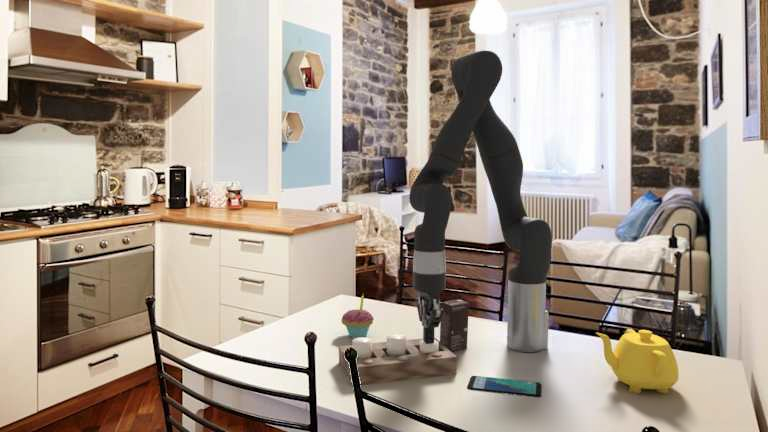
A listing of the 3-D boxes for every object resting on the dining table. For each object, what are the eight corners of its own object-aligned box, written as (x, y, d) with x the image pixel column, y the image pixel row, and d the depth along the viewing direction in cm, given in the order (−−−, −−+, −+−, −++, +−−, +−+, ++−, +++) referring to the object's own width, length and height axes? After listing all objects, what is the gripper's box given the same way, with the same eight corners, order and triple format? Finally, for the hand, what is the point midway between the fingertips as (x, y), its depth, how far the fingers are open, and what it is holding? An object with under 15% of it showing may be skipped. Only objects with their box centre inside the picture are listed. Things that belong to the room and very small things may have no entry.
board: (434, 353, 139) (434, 336, 138) (456, 373, 125) (456, 355, 125) (339, 362, 132) (338, 345, 132) (351, 385, 119) (351, 366, 118)
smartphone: (471, 375, 124) (541, 382, 120) (471, 378, 124) (541, 385, 120) (466, 387, 117) (541, 395, 113) (466, 391, 117) (541, 399, 113)
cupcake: (379, 334, 154) (379, 291, 152) (361, 342, 146) (361, 297, 145) (353, 328, 158) (353, 287, 157) (335, 337, 151) (334, 293, 150)
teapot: (620, 367, 129) (622, 317, 128) (687, 385, 119) (690, 331, 118) (592, 384, 119) (595, 330, 118) (663, 405, 109) (667, 346, 108)
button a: (434, 356, 133) (434, 338, 133) (441, 363, 129) (441, 344, 129) (417, 358, 132) (417, 340, 132) (423, 365, 128) (423, 346, 128)
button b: (402, 351, 131) (402, 333, 131) (408, 358, 127) (408, 339, 126) (384, 353, 130) (384, 335, 130) (389, 360, 126) (389, 341, 125)
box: (450, 353, 139) (451, 305, 137) (439, 347, 142) (439, 301, 141) (469, 348, 142) (469, 302, 141) (457, 343, 146) (457, 298, 144)
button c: (369, 355, 129) (369, 336, 129) (374, 361, 125) (374, 342, 124) (350, 356, 128) (350, 338, 127) (354, 363, 124) (354, 344, 123)
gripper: (455, 274, 123) (454, 350, 125) (434, 263, 136) (433, 332, 138) (423, 276, 121) (422, 353, 123) (405, 264, 134) (404, 335, 136)
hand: (428, 342), depth 130 cm, fingers closed
